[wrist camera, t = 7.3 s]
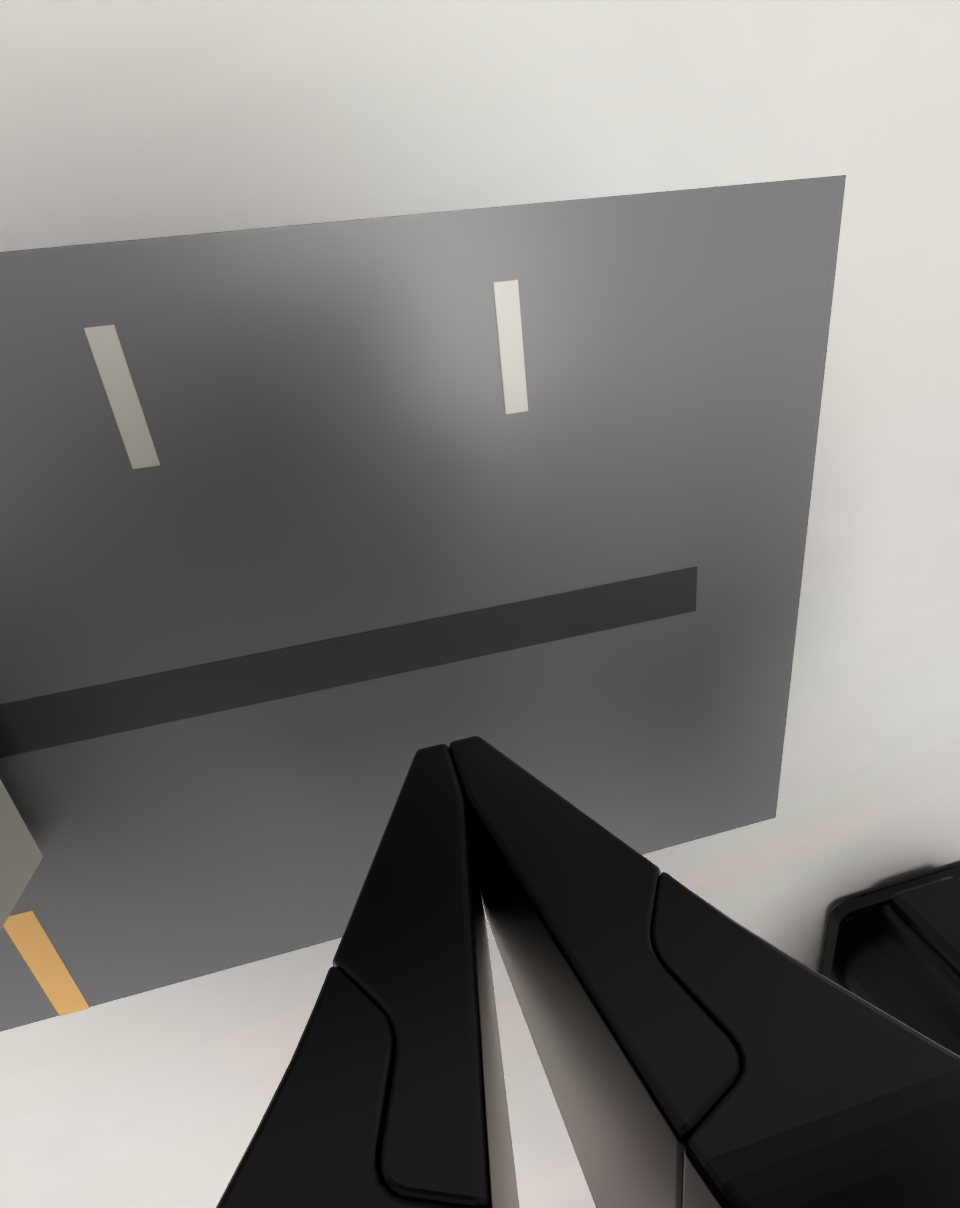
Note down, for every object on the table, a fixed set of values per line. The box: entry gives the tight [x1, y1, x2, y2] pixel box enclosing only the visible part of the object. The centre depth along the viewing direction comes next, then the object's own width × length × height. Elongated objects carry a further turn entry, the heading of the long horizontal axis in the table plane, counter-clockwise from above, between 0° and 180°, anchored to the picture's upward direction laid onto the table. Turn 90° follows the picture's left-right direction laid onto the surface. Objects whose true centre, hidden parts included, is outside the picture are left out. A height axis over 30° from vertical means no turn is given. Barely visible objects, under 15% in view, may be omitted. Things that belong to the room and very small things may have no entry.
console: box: [0, 175, 846, 1032], centre depth 12 cm, size 14×24×2 cm, turn 98°
